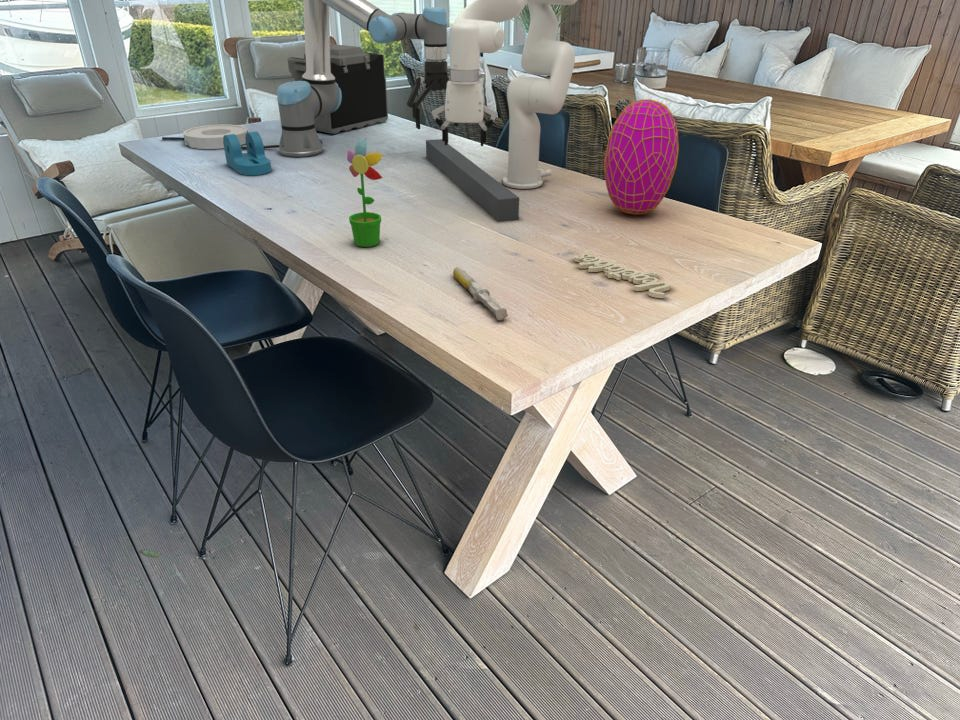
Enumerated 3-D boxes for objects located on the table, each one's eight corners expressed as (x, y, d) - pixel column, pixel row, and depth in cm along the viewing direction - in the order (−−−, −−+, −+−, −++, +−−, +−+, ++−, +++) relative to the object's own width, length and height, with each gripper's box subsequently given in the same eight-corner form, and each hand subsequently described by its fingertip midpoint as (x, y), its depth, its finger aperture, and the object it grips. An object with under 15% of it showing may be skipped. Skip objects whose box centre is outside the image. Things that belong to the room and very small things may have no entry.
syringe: (449, 274, 155) (449, 263, 153) (465, 272, 156) (464, 260, 154) (490, 323, 135) (491, 310, 133) (508, 319, 136) (508, 307, 134)
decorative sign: (686, 282, 150) (660, 295, 144) (686, 286, 150) (659, 300, 144) (592, 249, 166) (565, 259, 160) (592, 253, 167) (565, 263, 161)
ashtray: (199, 134, 271) (197, 123, 269) (257, 135, 271) (255, 124, 268) (174, 148, 251) (172, 137, 249) (237, 149, 251) (235, 138, 249)
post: (518, 219, 188) (519, 197, 185) (498, 221, 186) (498, 199, 183) (442, 156, 246) (441, 139, 243) (426, 157, 244) (425, 140, 241)
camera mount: (227, 164, 233) (221, 132, 227) (257, 160, 238) (252, 129, 233) (244, 176, 220) (239, 143, 215) (276, 172, 225) (271, 139, 220)
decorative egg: (646, 228, 182) (662, 110, 167) (585, 212, 193) (596, 100, 178) (681, 212, 194) (699, 100, 179) (622, 197, 206) (635, 91, 190)
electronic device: (355, 114, 307) (349, 41, 292) (392, 121, 296) (388, 45, 281) (291, 128, 282) (281, 48, 266) (329, 136, 271) (321, 53, 255)
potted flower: (390, 240, 173) (384, 138, 160) (373, 250, 166) (366, 145, 154) (358, 234, 176) (350, 134, 163) (341, 244, 170) (331, 141, 157)
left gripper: (468, 57, 232) (468, 122, 243) (396, 60, 224) (399, 127, 235) (475, 60, 226) (475, 127, 237) (401, 63, 218) (404, 131, 229)
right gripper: (498, 75, 179) (496, 142, 187) (432, 73, 179) (433, 140, 188) (497, 79, 172) (496, 148, 181) (429, 77, 173) (430, 147, 181)
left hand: (437, 127), depth 236 cm, fingers open, 13 cm apart
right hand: (464, 144), depth 184 cm, fingers open, 9 cm apart
